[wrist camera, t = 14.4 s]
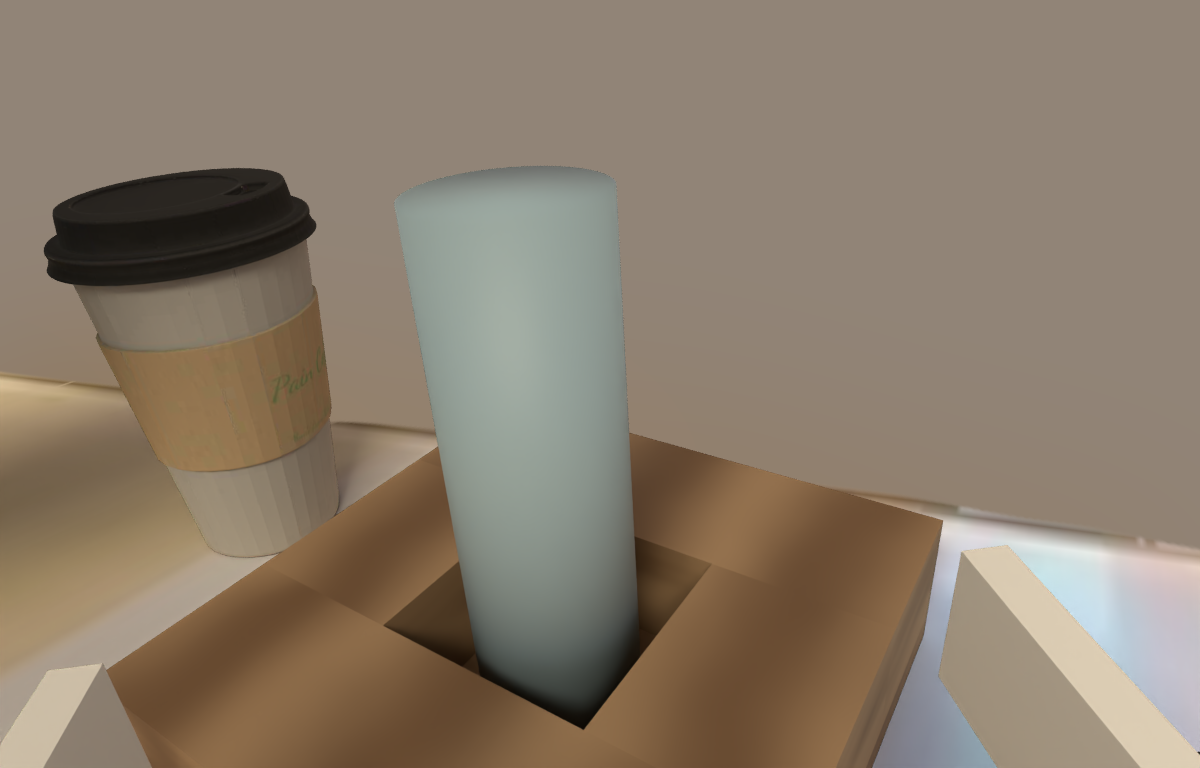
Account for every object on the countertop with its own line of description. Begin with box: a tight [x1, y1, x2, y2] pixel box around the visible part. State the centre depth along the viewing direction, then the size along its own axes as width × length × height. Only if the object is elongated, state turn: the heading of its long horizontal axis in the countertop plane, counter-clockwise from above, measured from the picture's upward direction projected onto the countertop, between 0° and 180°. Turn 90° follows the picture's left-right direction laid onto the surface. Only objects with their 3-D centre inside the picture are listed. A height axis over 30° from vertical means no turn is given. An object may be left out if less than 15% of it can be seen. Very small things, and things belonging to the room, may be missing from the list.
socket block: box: [106, 433, 943, 768], centre depth 25 cm, size 18×18×5 cm
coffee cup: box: [44, 168, 339, 557], centre depth 33 cm, size 9×9×15 cm
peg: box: [394, 166, 641, 730], centre depth 22 cm, size 5×5×16 cm
